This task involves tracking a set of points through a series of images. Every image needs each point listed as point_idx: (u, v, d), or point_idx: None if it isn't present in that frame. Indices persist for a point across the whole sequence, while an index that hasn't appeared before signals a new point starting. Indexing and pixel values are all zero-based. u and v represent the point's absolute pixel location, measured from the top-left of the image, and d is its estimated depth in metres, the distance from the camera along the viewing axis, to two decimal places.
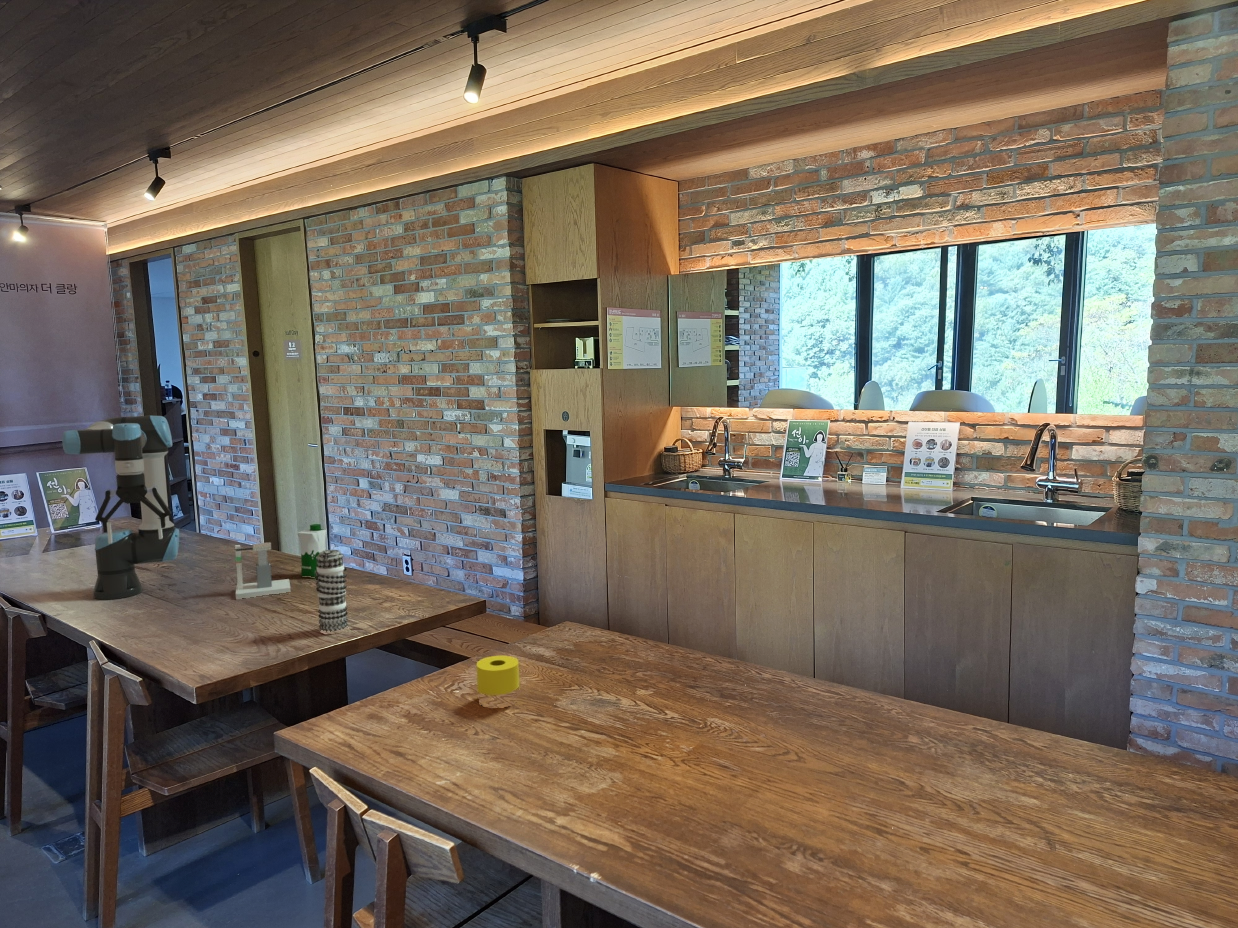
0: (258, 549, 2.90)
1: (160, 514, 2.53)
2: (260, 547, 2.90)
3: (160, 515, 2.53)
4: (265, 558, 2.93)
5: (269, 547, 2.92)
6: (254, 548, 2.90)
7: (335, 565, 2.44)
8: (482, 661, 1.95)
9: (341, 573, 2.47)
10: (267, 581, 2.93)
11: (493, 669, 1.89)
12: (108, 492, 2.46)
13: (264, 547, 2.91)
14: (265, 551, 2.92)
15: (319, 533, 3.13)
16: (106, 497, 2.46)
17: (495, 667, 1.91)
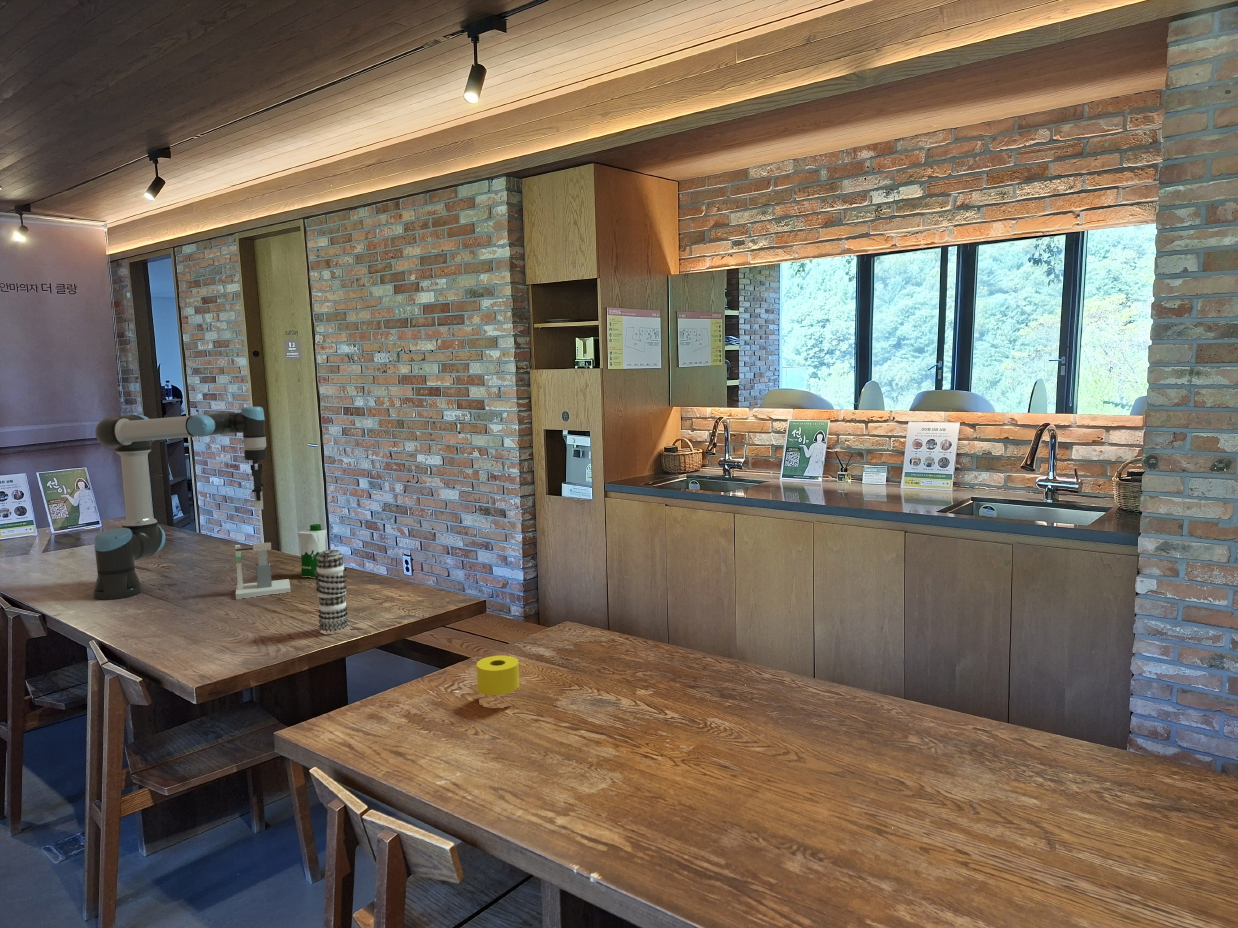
0: (258, 549, 2.90)
1: (254, 488, 2.90)
2: (260, 547, 2.90)
3: (254, 489, 2.90)
4: (265, 558, 2.93)
5: (269, 547, 2.92)
6: (254, 548, 2.90)
7: (335, 565, 2.44)
8: (482, 661, 1.95)
9: (341, 573, 2.47)
10: (267, 581, 2.93)
11: (493, 669, 1.89)
12: (252, 462, 3.01)
13: (264, 547, 2.91)
14: (265, 551, 2.92)
15: (319, 533, 3.13)
16: None
17: (495, 667, 1.91)
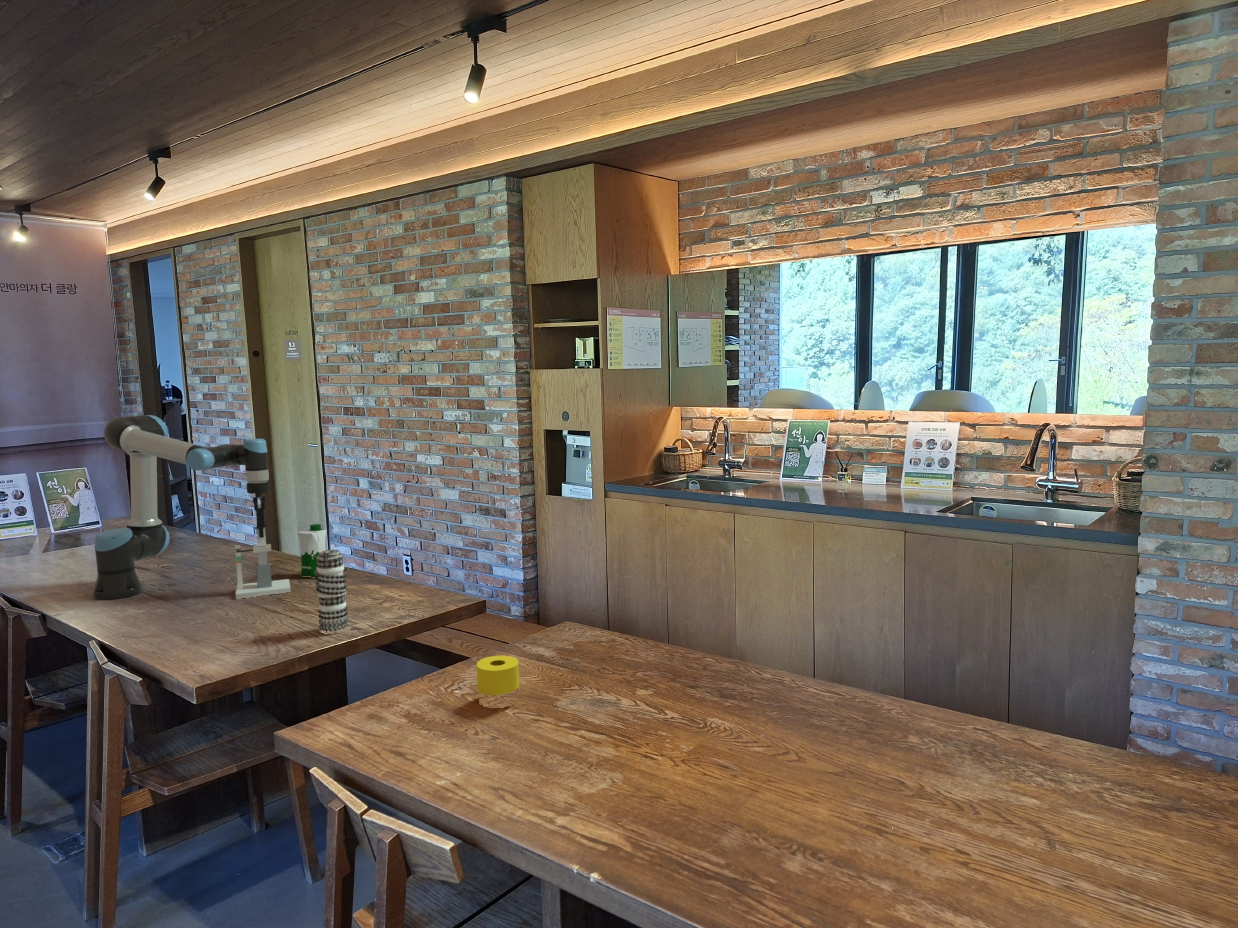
0: (258, 551, 2.90)
1: None
2: (260, 549, 2.90)
3: None
4: (265, 560, 2.93)
5: (269, 549, 2.92)
6: (254, 550, 2.90)
7: (335, 565, 2.44)
8: (482, 661, 1.95)
9: (341, 573, 2.47)
10: (267, 581, 2.93)
11: (493, 669, 1.89)
12: None
13: (264, 549, 2.91)
14: (265, 553, 2.93)
15: (319, 533, 3.13)
16: None
17: (495, 667, 1.91)
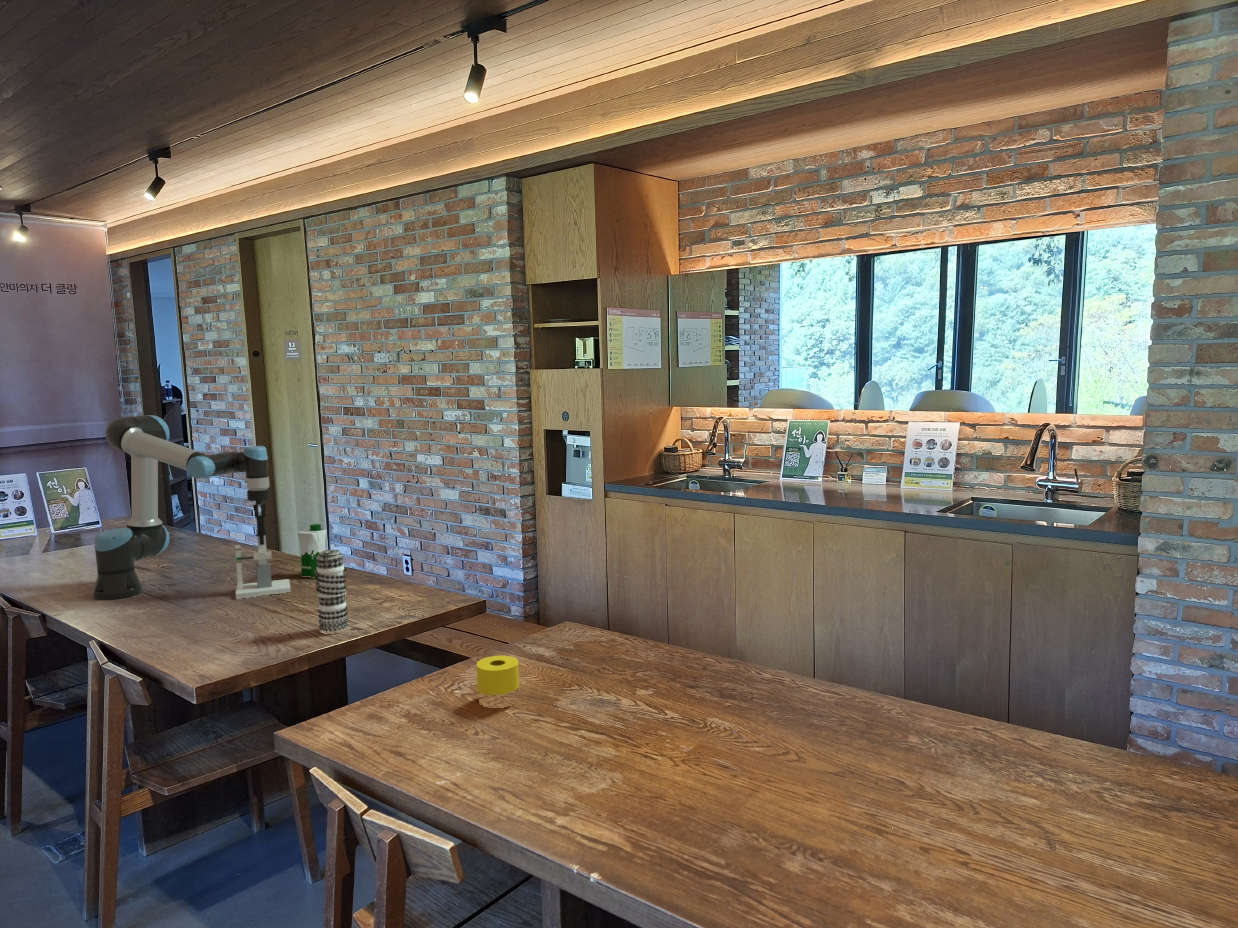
0: (259, 558, 2.90)
1: None
2: (261, 556, 2.91)
3: (257, 533, 2.91)
4: None
5: (270, 556, 2.92)
6: (255, 557, 2.90)
7: (335, 565, 2.44)
8: (482, 661, 1.95)
9: (341, 573, 2.47)
10: (267, 581, 2.93)
11: (493, 669, 1.89)
12: None
13: (265, 556, 2.91)
14: (266, 560, 2.93)
15: (319, 533, 3.13)
16: None
17: (495, 667, 1.91)
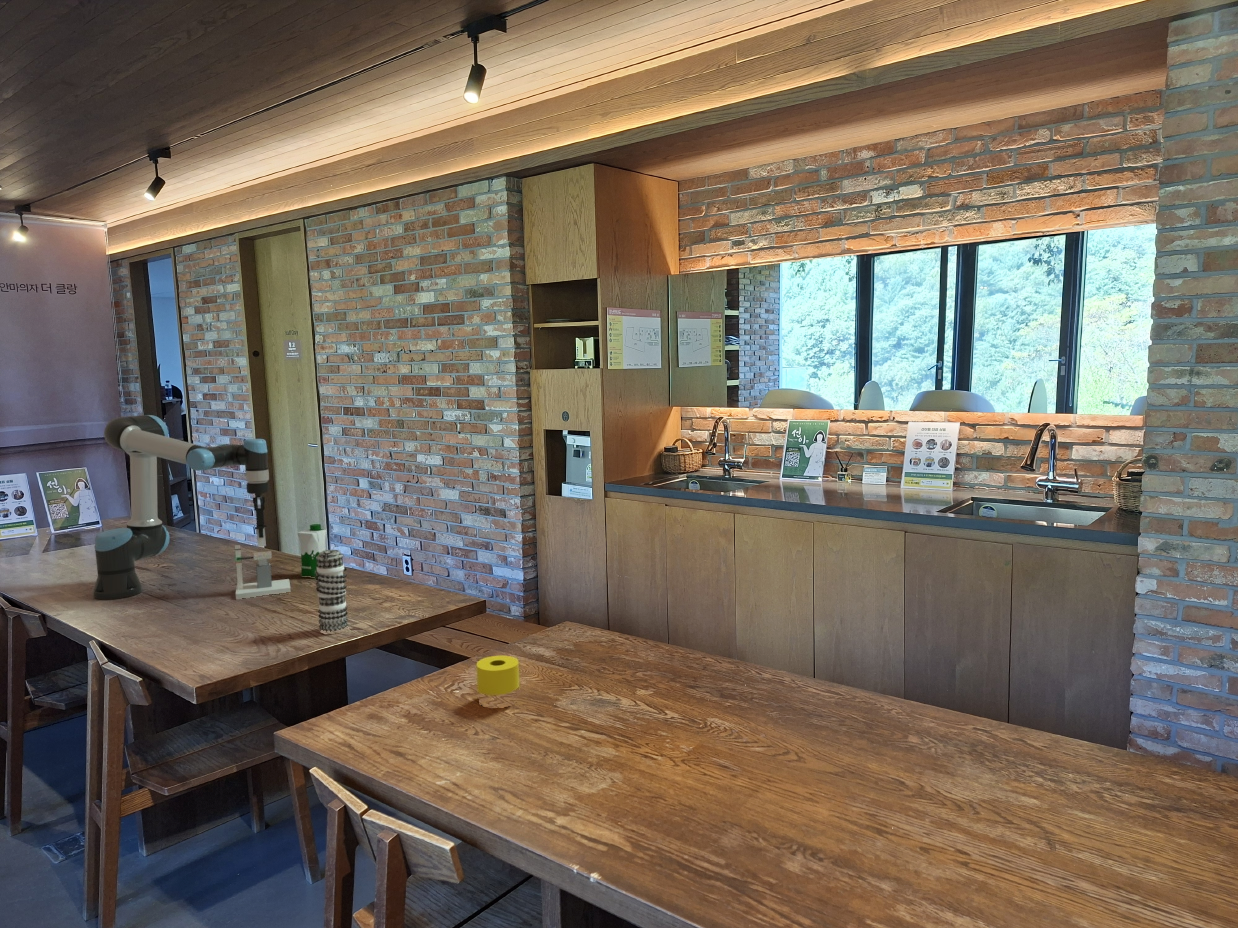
0: (259, 558, 2.90)
1: None
2: (261, 556, 2.91)
3: (256, 526, 2.91)
4: None
5: (270, 556, 2.92)
6: (255, 557, 2.90)
7: (335, 565, 2.44)
8: (482, 661, 1.95)
9: (341, 573, 2.47)
10: (267, 581, 2.93)
11: (493, 669, 1.89)
12: None
13: (265, 556, 2.91)
14: (266, 560, 2.93)
15: (319, 533, 3.13)
16: None
17: (495, 667, 1.91)
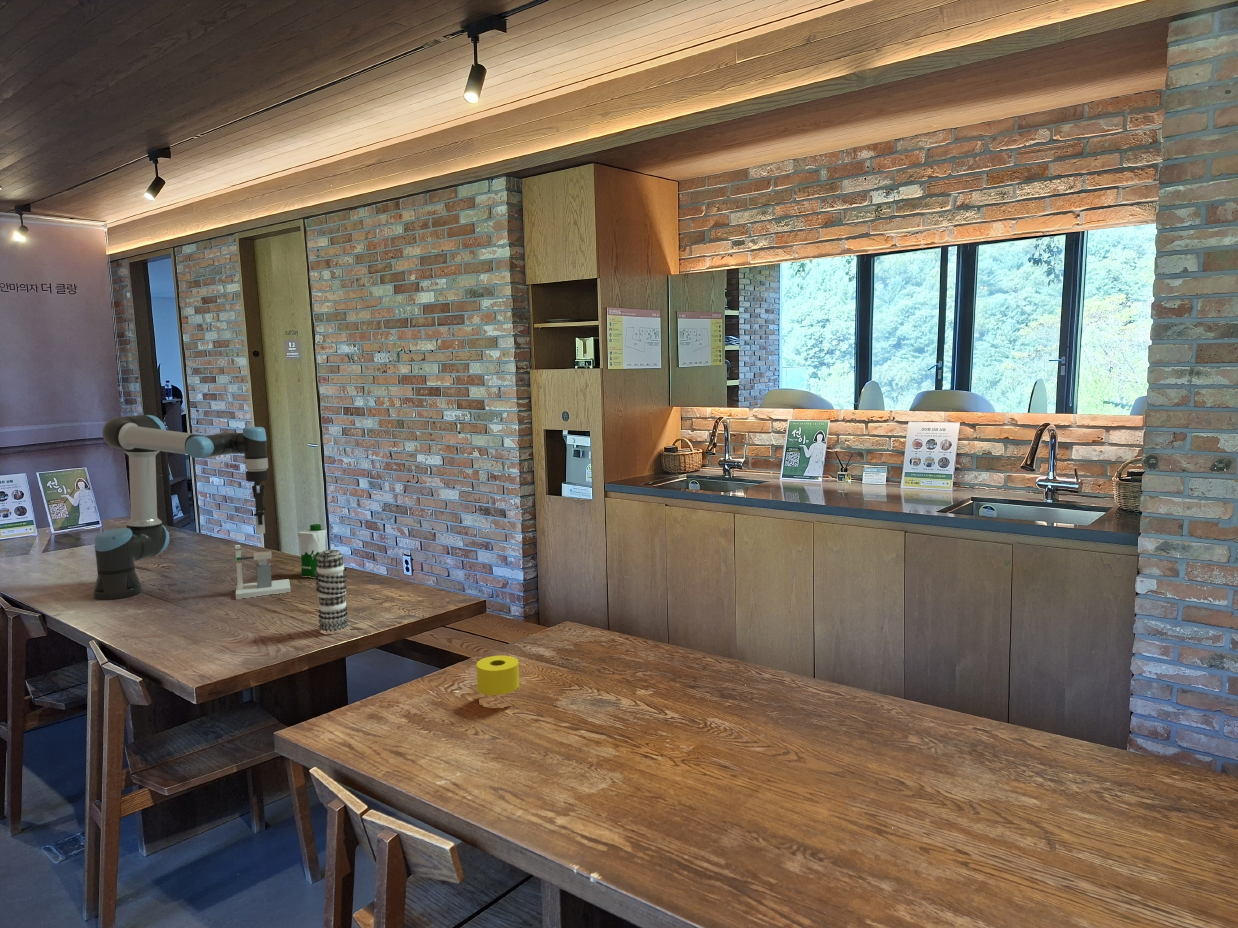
0: (259, 558, 2.90)
1: None
2: (261, 556, 2.91)
3: None
4: None
5: (270, 556, 2.92)
6: (255, 557, 2.90)
7: (335, 565, 2.44)
8: (482, 661, 1.95)
9: (341, 573, 2.47)
10: (267, 581, 2.93)
11: (493, 669, 1.89)
12: None
13: (265, 556, 2.91)
14: (266, 560, 2.93)
15: (319, 533, 3.13)
16: None
17: (495, 667, 1.91)
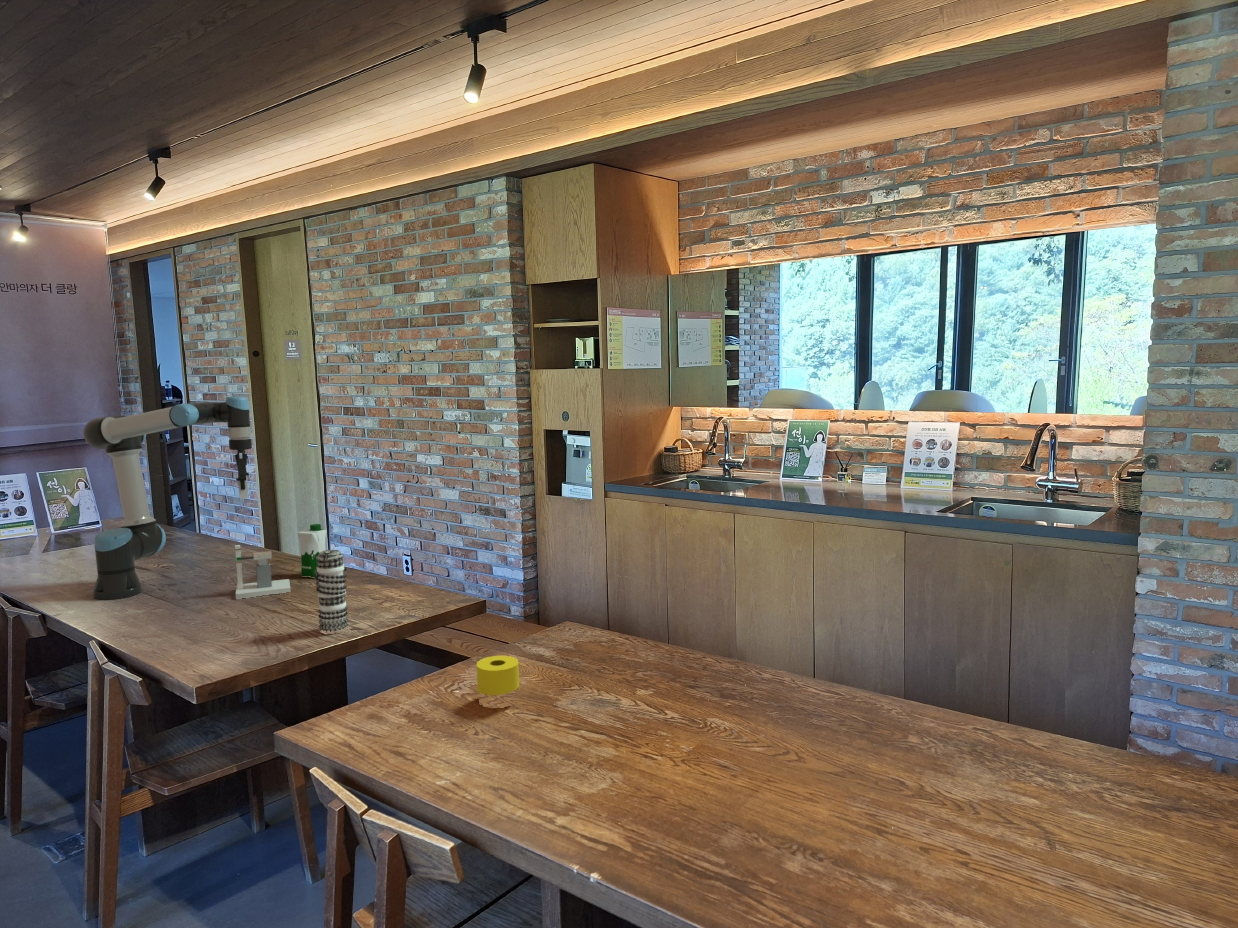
0: (259, 558, 2.90)
1: None
2: (261, 556, 2.91)
3: (238, 478, 2.89)
4: None
5: (270, 556, 2.92)
6: (255, 557, 2.90)
7: (335, 565, 2.44)
8: (482, 661, 1.95)
9: (341, 573, 2.47)
10: (267, 581, 2.93)
11: (493, 669, 1.89)
12: None
13: (265, 556, 2.91)
14: (266, 560, 2.93)
15: (319, 533, 3.13)
16: None
17: (495, 667, 1.91)
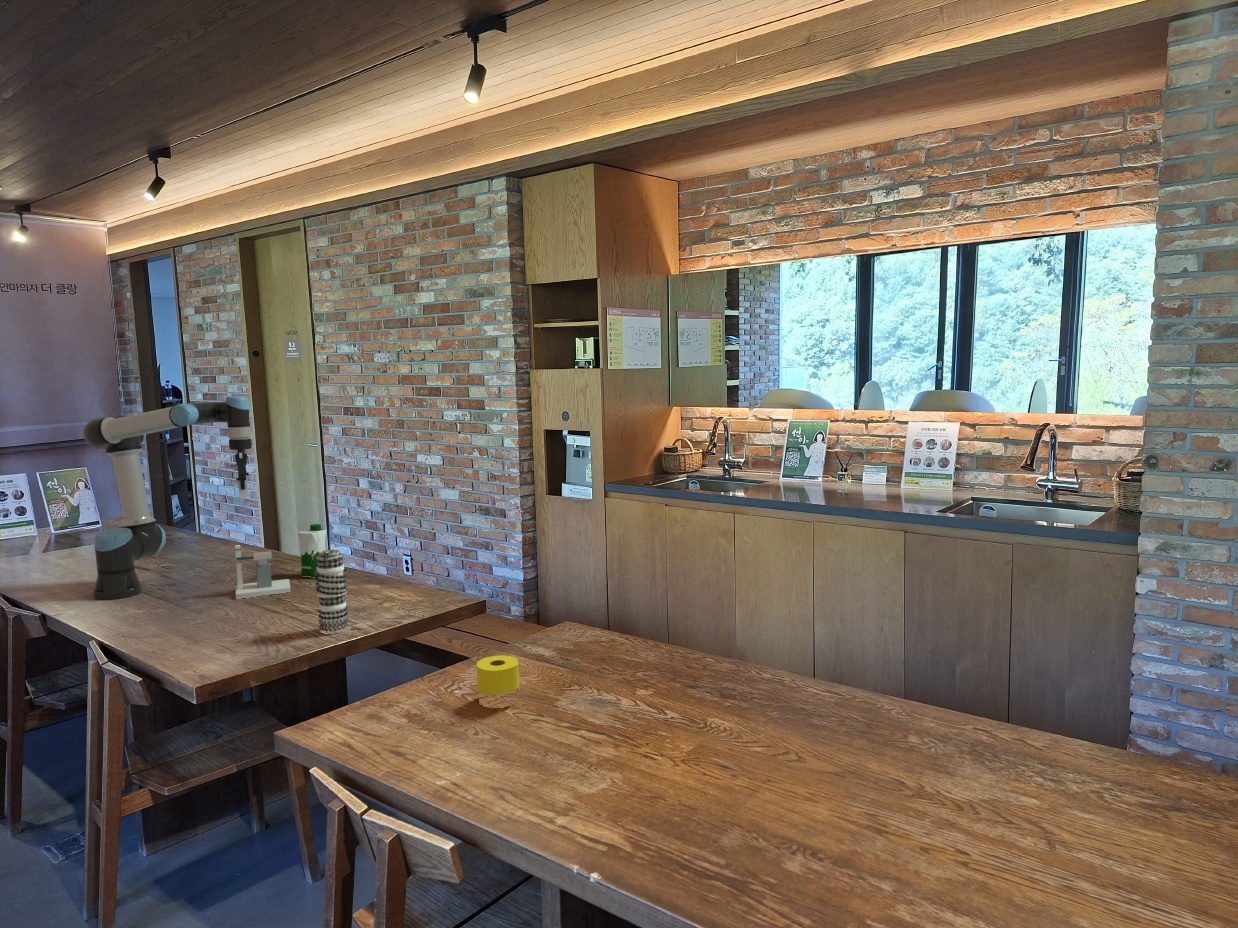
0: (259, 558, 2.90)
1: (238, 477, 2.89)
2: (261, 556, 2.91)
3: (238, 478, 2.89)
4: None
5: (270, 556, 2.92)
6: (255, 557, 2.90)
7: (335, 565, 2.44)
8: (482, 661, 1.95)
9: (341, 573, 2.47)
10: (267, 581, 2.93)
11: (493, 669, 1.89)
12: None
13: (265, 556, 2.91)
14: (266, 560, 2.93)
15: (319, 533, 3.13)
16: None
17: (495, 667, 1.91)
